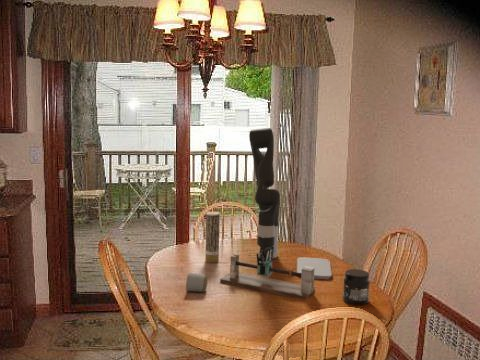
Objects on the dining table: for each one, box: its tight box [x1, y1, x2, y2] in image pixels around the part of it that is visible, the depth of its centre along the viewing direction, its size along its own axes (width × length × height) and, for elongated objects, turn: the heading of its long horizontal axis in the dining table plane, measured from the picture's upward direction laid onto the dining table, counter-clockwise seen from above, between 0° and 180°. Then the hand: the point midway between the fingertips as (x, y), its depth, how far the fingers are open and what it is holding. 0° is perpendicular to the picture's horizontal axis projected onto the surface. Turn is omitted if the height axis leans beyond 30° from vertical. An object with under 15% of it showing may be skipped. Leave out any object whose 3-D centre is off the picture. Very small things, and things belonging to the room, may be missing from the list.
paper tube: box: [204, 211, 221, 264], centre depth 232 cm, size 7×7×25 cm
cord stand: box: [219, 253, 316, 301], centre depth 201 cm, size 12×40×12 cm, turn 64°
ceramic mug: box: [185, 272, 208, 293], centre depth 196 cm, size 11×8×8 cm
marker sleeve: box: [256, 260, 273, 278], centre depth 201 cm, size 5×5×6 cm
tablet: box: [296, 256, 333, 280], centre depth 225 cm, size 16×26×2 cm, turn 172°
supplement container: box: [342, 268, 371, 306], centre depth 188 cm, size 10×10×12 cm
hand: (264, 272), depth 201 cm, fingers closed on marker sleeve, 4 cm apart
